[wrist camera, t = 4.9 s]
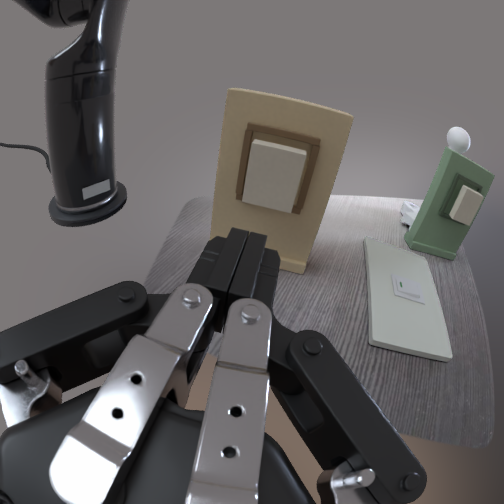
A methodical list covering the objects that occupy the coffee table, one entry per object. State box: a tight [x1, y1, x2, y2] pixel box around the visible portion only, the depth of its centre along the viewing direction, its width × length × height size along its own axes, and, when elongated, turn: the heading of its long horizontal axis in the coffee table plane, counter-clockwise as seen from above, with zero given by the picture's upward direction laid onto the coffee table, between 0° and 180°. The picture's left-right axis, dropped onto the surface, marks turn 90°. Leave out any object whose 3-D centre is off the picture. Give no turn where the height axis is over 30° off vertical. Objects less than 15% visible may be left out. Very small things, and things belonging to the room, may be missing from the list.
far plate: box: [404, 147, 494, 260], centre depth 32 cm, size 3×10×16 cm, turn 84°
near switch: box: [242, 139, 306, 213], centre depth 21 cm, size 1×4×5 cm, turn 79°
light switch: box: [364, 236, 452, 362], centre depth 27 cm, size 17×1×10 cm
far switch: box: [449, 185, 484, 226], centre depth 29 cm, size 1×4×5 cm, turn 84°
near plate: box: [209, 88, 353, 274], centre depth 24 cm, size 3×10×16 cm, turn 79°
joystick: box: [400, 127, 470, 231], centre depth 38 cm, size 11×8×20 cm
